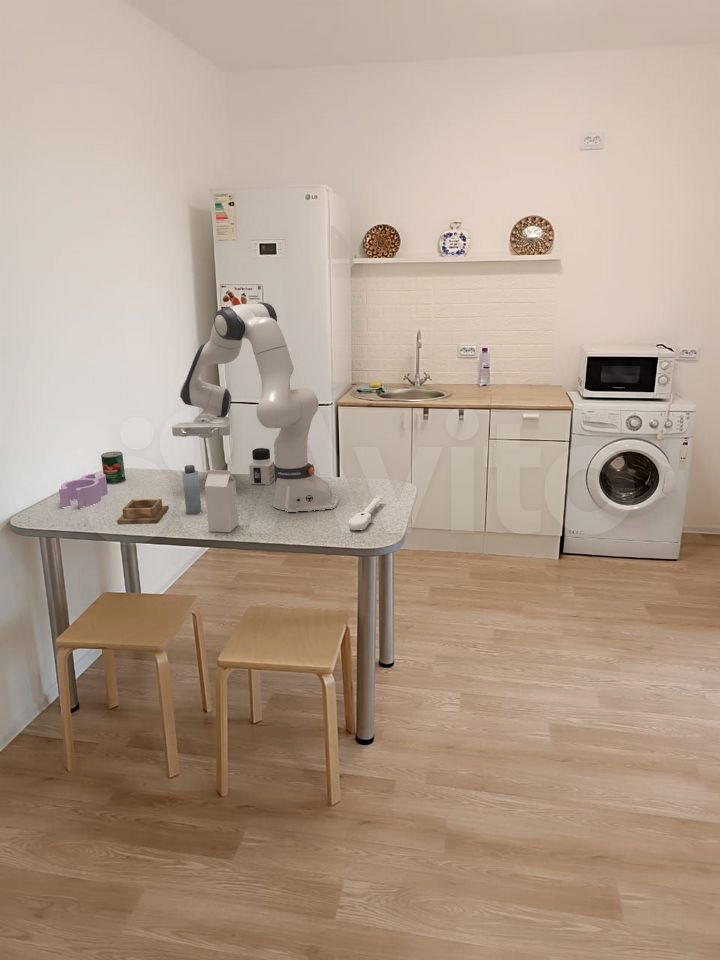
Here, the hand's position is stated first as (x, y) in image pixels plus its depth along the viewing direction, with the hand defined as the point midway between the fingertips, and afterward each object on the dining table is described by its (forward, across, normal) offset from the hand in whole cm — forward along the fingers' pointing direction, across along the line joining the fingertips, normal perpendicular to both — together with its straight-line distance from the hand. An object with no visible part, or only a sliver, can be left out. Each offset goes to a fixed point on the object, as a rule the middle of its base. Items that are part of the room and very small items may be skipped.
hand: (197, 434), depth 247 cm
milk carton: (+31, +13, +23) cm, 41 cm away
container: (-18, +19, +23) cm, 35 cm away
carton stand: (+18, -16, +23) cm, 33 cm away
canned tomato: (-23, -39, +24) cm, 51 cm away
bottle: (+15, 0, +23) cm, 28 cm away
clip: (-1, -42, +24) cm, 48 cm away
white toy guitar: (+24, +59, +23) cm, 67 cm away
